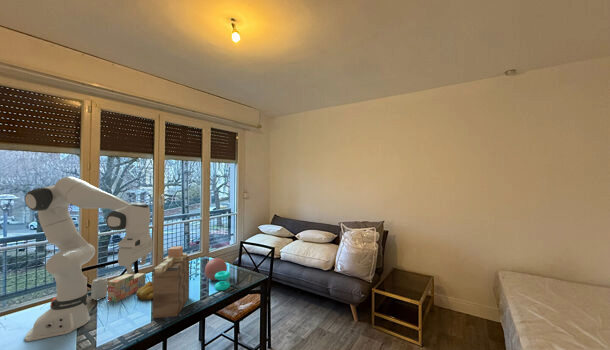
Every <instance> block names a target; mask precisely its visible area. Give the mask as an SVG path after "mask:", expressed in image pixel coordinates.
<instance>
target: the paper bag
mask: <svg viewBox="0 0 610 350" xmlns="http://www.w3.org/2000/svg"><path fill="white" fill-rule="evenodd" d="M161 263H163V261H162V262H160V263H159V264H158V265H156V266H155V267H154V268H152V273H153V274H152V275H153V278H152V283H153V299H152V318H153V319H156V318H169V317H178V315H179V313H180V312H181V311H182V310H183V308H184V306H185V305H186V303H187V302H188V301H189V298H190V255H187V257H186V258H185V259H184V260H183V261H182V262H175V263H174V264H172V265H171V266H170V267H169V268H168V269H167V270H165V271H164V272H163V273H162V274H156V275H155V268H156V267H157V266H159V265H160V264H161Z"/></svg>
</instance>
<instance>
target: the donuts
mask: <svg viewBox="0 0 610 350" xmlns="http://www.w3.org/2000/svg"><path fill="white" fill-rule="evenodd" d="M230 276H231V272H230V271H228V270H227V271H221V272H218V273H216V274H215V278H216V279H217V280H216V281H218V282H216V283H215V284H214V290H216V291H227V289H229V288H230V287H231V283H230V282H229V281H228V280H227V279H228V278H230Z"/></svg>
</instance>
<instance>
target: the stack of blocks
mask: <svg viewBox="0 0 610 350" xmlns="http://www.w3.org/2000/svg"><path fill="white" fill-rule="evenodd" d="M145 284H146V273H141V272H140V273H138V272H137V273H134V274H133V273H125V274H122V275H120V276H118V277H115V278H113V279H110V280H107V300H109V301H115V302H114V303H116V302H119V301H121V300H123V299H125V298H127V297H129V296H131V295H132V294H134V293H137V291H138V290H139V289H140V288H141V287H144V285H145ZM109 301H108V302H109Z"/></svg>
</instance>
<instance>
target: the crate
mask: <svg viewBox="0 0 610 350" xmlns="http://www.w3.org/2000/svg"><path fill="white" fill-rule="evenodd" d="M167 251H168V252H167V253H168V255H167V256H168V258H169V257H180V256H181V255H183V253H184V245H179V246H178V245H176V246H174V245H173V246H171V247H169V248H168V249H167Z"/></svg>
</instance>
